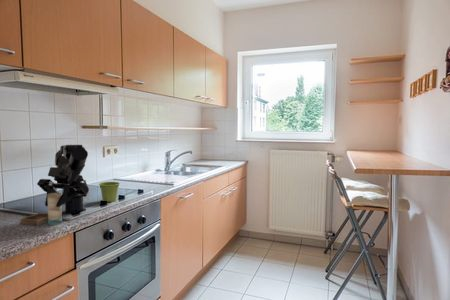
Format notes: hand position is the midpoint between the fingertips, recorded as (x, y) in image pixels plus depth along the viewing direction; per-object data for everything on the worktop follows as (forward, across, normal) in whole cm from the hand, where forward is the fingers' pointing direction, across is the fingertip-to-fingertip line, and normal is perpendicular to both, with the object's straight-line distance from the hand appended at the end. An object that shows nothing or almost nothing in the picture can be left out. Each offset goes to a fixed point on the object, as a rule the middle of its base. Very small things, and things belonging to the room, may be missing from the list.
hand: (51, 206), depth 107 cm
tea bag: (-20, -15, +30) cm, 39 cm away
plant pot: (-21, 0, +31) cm, 37 cm away
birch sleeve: (+4, 0, +6) cm, 7 cm away
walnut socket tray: (+4, -7, +6) cm, 10 cm away
